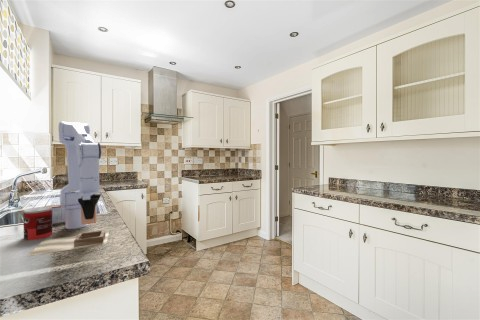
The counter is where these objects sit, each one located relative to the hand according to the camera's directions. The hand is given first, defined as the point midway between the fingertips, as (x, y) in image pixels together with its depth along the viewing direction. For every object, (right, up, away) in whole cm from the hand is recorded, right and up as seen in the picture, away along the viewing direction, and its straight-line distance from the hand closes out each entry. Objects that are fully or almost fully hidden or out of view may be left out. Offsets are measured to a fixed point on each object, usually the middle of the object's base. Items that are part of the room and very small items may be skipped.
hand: (90, 217), depth 78 cm
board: (-5, -9, -1) cm, 10 cm away
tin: (-31, -9, +23) cm, 40 cm away
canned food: (-22, -9, +5) cm, 25 cm away
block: (0, -2, 0) cm, 2 cm away
